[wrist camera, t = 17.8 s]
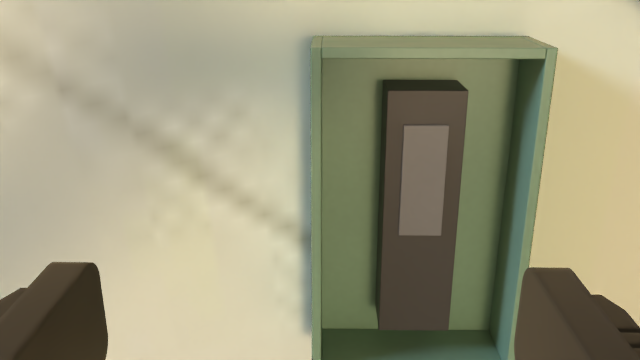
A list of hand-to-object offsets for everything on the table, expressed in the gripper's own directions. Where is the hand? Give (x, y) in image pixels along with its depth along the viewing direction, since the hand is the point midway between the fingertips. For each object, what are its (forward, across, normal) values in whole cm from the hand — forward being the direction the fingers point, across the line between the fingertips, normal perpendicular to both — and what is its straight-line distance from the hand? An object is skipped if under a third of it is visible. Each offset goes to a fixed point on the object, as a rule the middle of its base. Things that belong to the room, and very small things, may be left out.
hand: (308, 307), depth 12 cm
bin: (+28, -6, +9) cm, 30 cm away
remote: (+28, -6, +9) cm, 30 cm away
